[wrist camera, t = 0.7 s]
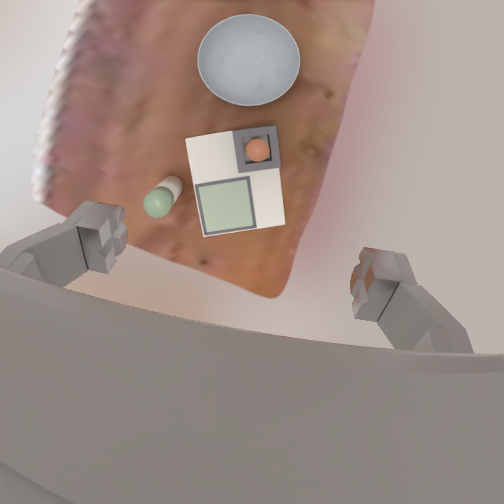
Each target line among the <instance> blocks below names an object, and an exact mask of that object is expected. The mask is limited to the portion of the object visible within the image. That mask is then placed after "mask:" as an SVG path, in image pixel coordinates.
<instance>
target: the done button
mask: <svg viewBox="0 0 504 504" xmlns="http://www.w3.org/2000/svg"><path fill="white" fill-rule="evenodd" d="M245 150H246V153H247V155H248V157H249V158H250V159H251V160H253V161H256V162H260V161H263V160H265V159H266V158H267V157H268V155H269V152H270V149H269V146H268V144H267V143H266V142H265V141H264V140H262V139H260V138H252V139H250V140H249V141H248V142H247V144H246V147H245Z"/></svg>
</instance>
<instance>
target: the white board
mask: <svg viewBox="0 0 504 504" xmlns="http://www.w3.org/2000/svg"><path fill="white" fill-rule="evenodd" d="M252 138H260V139H262V140H264V141H265V142H266V143H267V144H268V146H269V149H270V152H269V155H268V157H267V158H266V159H265V160H263V161H260V162H256V161H253V160H251V159H250V158H249V157H248V155H247V153H246V150H245V147H246V144H247V142H248V141H249V140H250V139H252ZM185 140H186V146H187V152H188V158H189V163H190V169H191V174H192V180H193V185H194V191H195V196H196V201H197V206H198V212H199V217H200V222H201V227H202V232H203V237H206V236H212V235H219V234H225V233H232V232H238V231H245V230H252V229H259V228H266V227H273V226H279V225H285V217H284V208H283V198H282V189H281V181H280V172H279V168H281V161H280V153H279V145H278V137H277V129H276V125H270V126H262V127H254V128H246V129H239V130H232V131H226V132H219V133H213V134H207V135H202V136H196V137H191V138H186V139H185Z"/></svg>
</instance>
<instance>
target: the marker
mask: <svg viewBox="0 0 504 504" xmlns="http://www.w3.org/2000/svg"><path fill="white" fill-rule="evenodd" d="M182 190H183V184H182V181H181V180H180V179H179V178H178V177H176V176H168V177H166V178H164V179H163V180H162V181H161V182H160V183H159V184H158V185H157V186H156V187H155V188H154V189H153V190H152V191H150V192H149V193H148V194H147V195H146V197H145V199H144V209H145V211H146V212H147V213H148V214H149V215H150V216H152V217H155V218H160V217H163V216H165V215H166V214H167V213H168V212H169V210H170V209H171V207H172V206H173V204H174V203H175V201H176V200H177V198H178V197H179V195H180V194H181V192H182Z"/></svg>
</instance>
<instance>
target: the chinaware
mask: <svg viewBox="0 0 504 504" xmlns="http://www.w3.org/2000/svg"><path fill="white" fill-rule="evenodd" d="M197 63H198V69H199V73H200V76H201V78H202V80H203V82H204V83H205V85H206V86H207V87H208V88H209V89H210V90H211V91H212V92H213V93H214V94H215V95H216V96H218V97H219V98H221V99H223V100H225V101H227V102H230V103H233V104H236V105H242V106H256V105H262V104H266V103H269V102H271V101H273V100H275V99H277V98H279V97H280V96H282V95H283V94H284V93H285V92H286V91H287V90H288V89H289V88H290V87H291V86H292V84H293V83H294V81H295V79H296V77H297V75H298V72H299V68H300V53H299V49H298V46H297V44H296V41H295V40H294V38H293V36H292V35H291V34H290V32H289V31H288V30H287V29H286V28H285V27H283V26H282V25H281V24H279V23H278V22H276V21H274V20H272V19H270V18H268V17H264V16H260V15H254V14H243V15H236V16H233V17H229V18H227V19H225V20H223V21H221V22H219V23H218V24H216V25H215V26H214V27H212V28H211V29H210V30H209V31H208V33H207V34H206V35H205V37H204V38H203V40H202V42H201V44H200V47H199V51H198V57H197Z"/></svg>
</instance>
